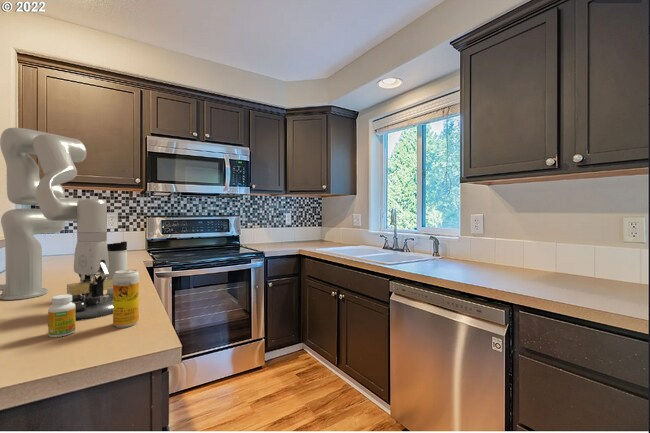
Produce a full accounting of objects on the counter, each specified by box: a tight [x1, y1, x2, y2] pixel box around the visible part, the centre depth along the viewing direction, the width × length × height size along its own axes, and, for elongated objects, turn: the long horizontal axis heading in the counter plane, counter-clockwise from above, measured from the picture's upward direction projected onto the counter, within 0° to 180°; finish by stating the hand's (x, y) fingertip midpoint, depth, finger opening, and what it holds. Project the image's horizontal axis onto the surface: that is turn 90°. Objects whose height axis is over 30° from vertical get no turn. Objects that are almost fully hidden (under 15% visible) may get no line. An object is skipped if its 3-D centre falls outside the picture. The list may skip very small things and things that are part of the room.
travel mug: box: [106, 241, 128, 296], centre depth 116 cm, size 6×7×20 cm
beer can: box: [112, 268, 140, 329], centre depth 87 cm, size 6×6×15 cm
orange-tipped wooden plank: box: [66, 277, 113, 305], centre depth 99 cm, size 13×4×7 cm, turn 143°
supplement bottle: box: [47, 293, 76, 338], centre depth 80 cm, size 5×5×10 cm
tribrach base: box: [71, 294, 113, 321], centre depth 98 cm, size 18×18×4 cm
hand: (92, 294), depth 98 cm, fingers closed on orange-tipped wooden plank, 4 cm apart
